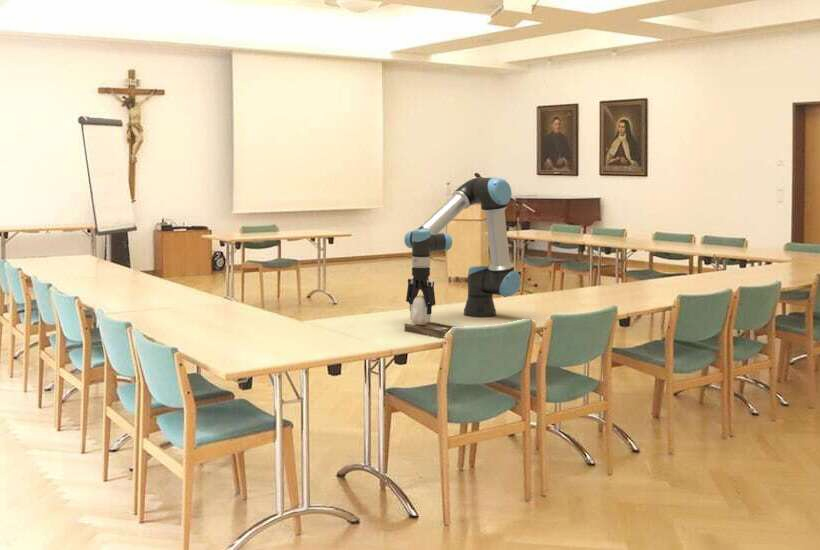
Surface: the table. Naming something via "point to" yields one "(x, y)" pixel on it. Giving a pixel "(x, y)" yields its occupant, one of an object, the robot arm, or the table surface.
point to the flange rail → (429, 329)
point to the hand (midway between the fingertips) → (420, 320)
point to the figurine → (418, 310)
